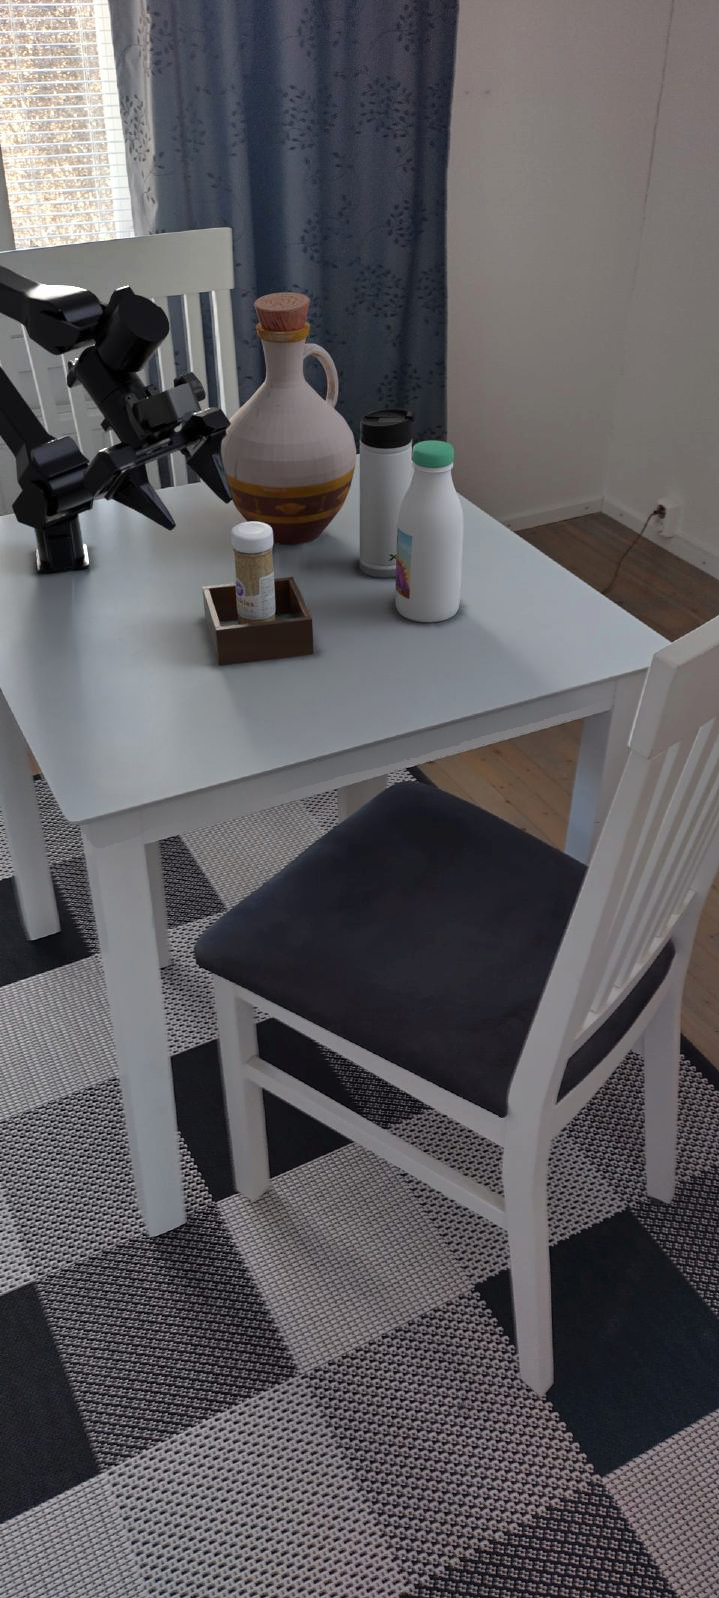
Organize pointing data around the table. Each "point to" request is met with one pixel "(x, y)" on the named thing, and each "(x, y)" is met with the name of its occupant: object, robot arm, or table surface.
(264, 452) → the jug
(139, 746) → the table surface
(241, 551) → the sprinkles bottle
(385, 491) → the travel mug
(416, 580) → the milk bottle
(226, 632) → the crate
